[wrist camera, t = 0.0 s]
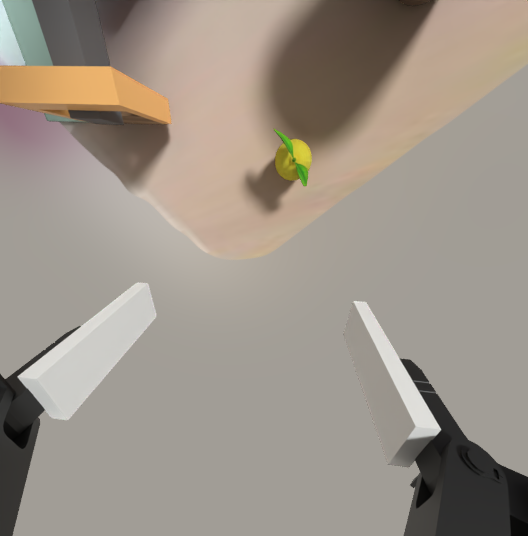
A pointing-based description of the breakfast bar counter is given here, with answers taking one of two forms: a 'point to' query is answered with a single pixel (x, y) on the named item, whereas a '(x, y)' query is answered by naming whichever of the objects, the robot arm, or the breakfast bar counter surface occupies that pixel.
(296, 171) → the lemon
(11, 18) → the mat
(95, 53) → the grey rectangular bar
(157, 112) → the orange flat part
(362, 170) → the breakfast bar counter surface
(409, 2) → the plant pot
